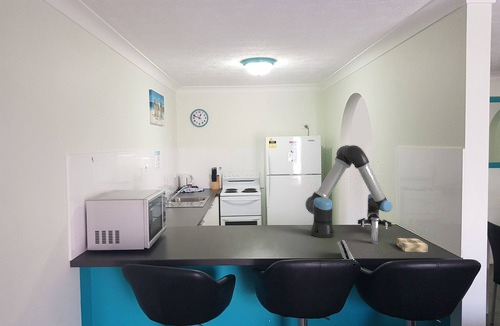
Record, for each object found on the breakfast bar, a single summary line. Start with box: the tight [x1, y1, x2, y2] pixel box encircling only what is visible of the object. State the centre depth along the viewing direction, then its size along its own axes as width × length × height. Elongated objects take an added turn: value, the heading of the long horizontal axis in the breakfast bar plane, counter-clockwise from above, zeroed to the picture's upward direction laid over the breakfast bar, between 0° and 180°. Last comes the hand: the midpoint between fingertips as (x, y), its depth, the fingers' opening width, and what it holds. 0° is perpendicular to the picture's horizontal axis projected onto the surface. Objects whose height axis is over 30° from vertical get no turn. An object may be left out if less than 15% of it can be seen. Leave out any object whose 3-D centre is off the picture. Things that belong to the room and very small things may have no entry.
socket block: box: [396, 237, 429, 253], centre depth 182 cm, size 12×12×4 cm
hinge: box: [336, 239, 355, 260], centre depth 164 cm, size 17×5×10 cm, turn 172°
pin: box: [370, 217, 380, 245], centre depth 191 cm, size 5×5×15 cm
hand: (374, 226), depth 199 cm, fingers open, 13 cm apart
